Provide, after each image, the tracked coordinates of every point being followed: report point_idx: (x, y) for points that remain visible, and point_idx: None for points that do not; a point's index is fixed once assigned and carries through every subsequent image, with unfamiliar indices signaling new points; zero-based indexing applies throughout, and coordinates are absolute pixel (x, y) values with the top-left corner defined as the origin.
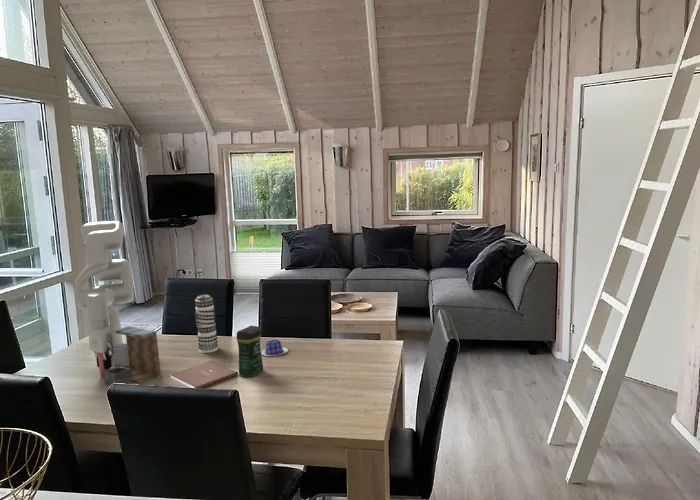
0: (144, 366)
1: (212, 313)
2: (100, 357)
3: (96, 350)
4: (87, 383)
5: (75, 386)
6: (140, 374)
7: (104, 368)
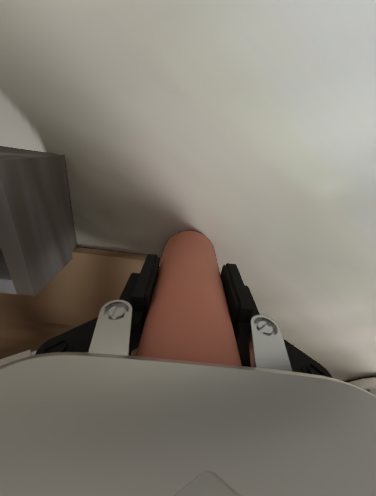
0: (10, 343)
1: None
2: (171, 312)
3: (187, 391)
4: (188, 123)
5: (227, 34)
6: (10, 297)
7: (152, 255)
